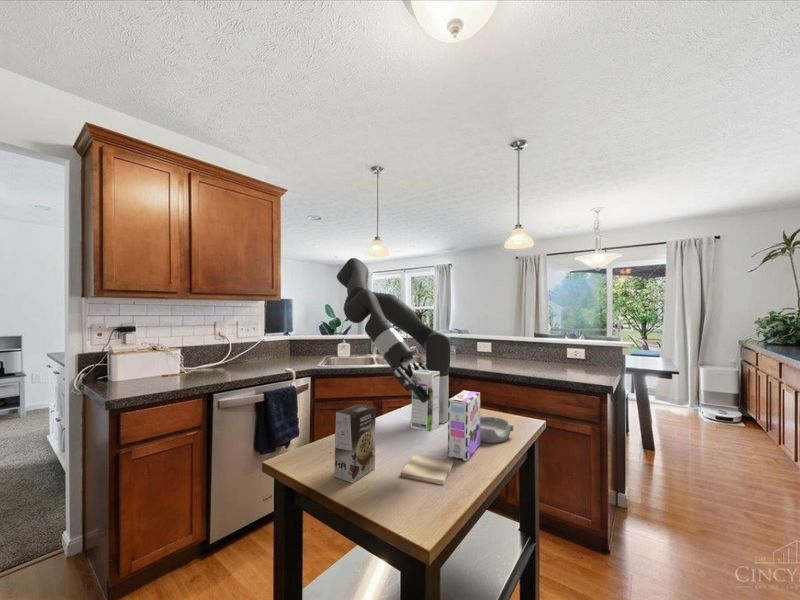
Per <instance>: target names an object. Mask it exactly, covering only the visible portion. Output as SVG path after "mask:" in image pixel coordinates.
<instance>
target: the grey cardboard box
mask: <svg viewBox="0 0 800 600" xmlns="http://www.w3.org/2000/svg"><path fill="white" fill-rule="evenodd" d="M376 408H377V407H376V406H371V405H366V404H365V405H363V404H355V405H352V406H348V407H346V408H343V409H341V410H337V411H335V432H334V433H335V435H334V439H335V440H334V474H333V475H334V477H335V478H337V479H339V480H344V481H345V482H349V483H351V484H354V483H355V482H357V481H359V480H360V479H362V478H364V477H365V476H366V475H368V474H370V473H371V472H373V471H374V470H375V469H376V414H377V413H376Z"/></svg>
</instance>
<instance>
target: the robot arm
mask: <svg viewBox="0 0 800 600" xmlns="http://www.w3.org/2000/svg"><path fill="white" fill-rule="evenodd" d="M369 272H370V271H369V268H368V266H367V265H366V264H365V263H364V262H363V261H361V260H360V259H358V258H356V257H351V258H349V259H348V260H347V261H346V262H345V264H344V265H342V267H341V268H340V270H339V272H338V273H337V275H336V280H337V281H338V282H339V283H340V284H341V285H342V286H343V287H345V288H346V293H347V296H346V298H345V300H344V303H343V313H344V315H345V318H346V319H347V320H348V321H350V322H351V323H353V324H360V323H362V322H363V321H365V320H366V319H367V317H369V316H370V317H369V319H368V320H367V322H366V324H365V325H364V331H365V333H366V335H367V336H368V337H369V339H370V340H371V341H372V342H373V344H374V346H375V347H376V349H377V351H378V352H379V354H380V355H381V356H382V358H383V359H384V360H385V362H386V363H387V364H388V366H389V367H390V368H391V370H394V371H393V372H392V376H393V377H394V378H395V379H396V380H397V382H399V384H400V385H401V386H402V387H403V388H404V389H405V391H406V392H409V391H411V393H412V392H413V391H414V392H415V394H416V395H417V396H418V398H419V399H420V400H421V402H422V403H424V402H426V401H427V400H428V399H429V396H428V395H427V393H426V392H425V391H424V389H423V388H422V387H421V386H420V385H419V382H418V381H417V379H416V378H417V377H416V375H415V374H414V372H415V371H416V370H428V371H440V378H439V424H444V423H448V400H449V399H450V398H449V392H450V391H449V381H450V380H449V371H450V367H451V343H450V339H449V337H448V336H446V335H445V334H443V333H440V332H437V331H436V330H435V329H433V328H431V327H430V326H428V325H427V324H426V323H425V322H423V321H422V320H421V319H420V318H419V317H418V315H417V314H416V313H415V312H414V311H413V310H412V308H411V307H409V305H407V304H406V303H405V302H404V301H403V300H401V299H400V297H398V296H397V295H394V294H389V293H383V292H375V291H371V290H369V286H368V279H369ZM393 326H394V327H396V328H397V329H399V330H400V331H402V332H404V333H405V334H407V335H409V336H410V337H411V338H413V340H414V341H415V342H416V343H418V345H420V347H421V348H422V349H423V350H424V351H425V356H426V357H425V363H424V362H423V361H422V360H420V361H419V362H417V361H416V360H415V359H413V356H414V354H415V352H414V349H412V348H411V347H410V345H409V344H408V343H407V342H406V340H405V339H404V338H403V337H402V335H401V334H400V333H399V332H398V331H397V330H396V329H395V328H394V327H393ZM413 381H414V382H413Z"/></svg>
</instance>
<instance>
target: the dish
mask: <svg viewBox="0 0 800 600" xmlns="http://www.w3.org/2000/svg"><path fill="white" fill-rule="evenodd" d="M513 431H514V423H510V422H509V421H508V420H506V419H504V418H502V417H496V416H480V443H481V442H482V443H489V444H495V443H501V442H505V441H507V440H508V439H509V438H510V435H511V432H513Z"/></svg>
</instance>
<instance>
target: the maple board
mask: <svg viewBox="0 0 800 600" xmlns="http://www.w3.org/2000/svg"><path fill="white" fill-rule="evenodd" d="M453 466H454V461H453V460H447V459H440V458H435V457H430V456H423V455H417V454H414V455H413V456H412V457H411V458H410V460H409V461H408V462H407V463H406V465H405V466H404V467H403V469H402V470H401V471H400V477H401V478H407V479H411V480H416V481H422V482H428V483H433V484H437V485H438V484H439V485H442V486H443V485H445V483H446V481H447V479H448V477H449V474H450V472H451V470H452V468H453Z"/></svg>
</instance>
